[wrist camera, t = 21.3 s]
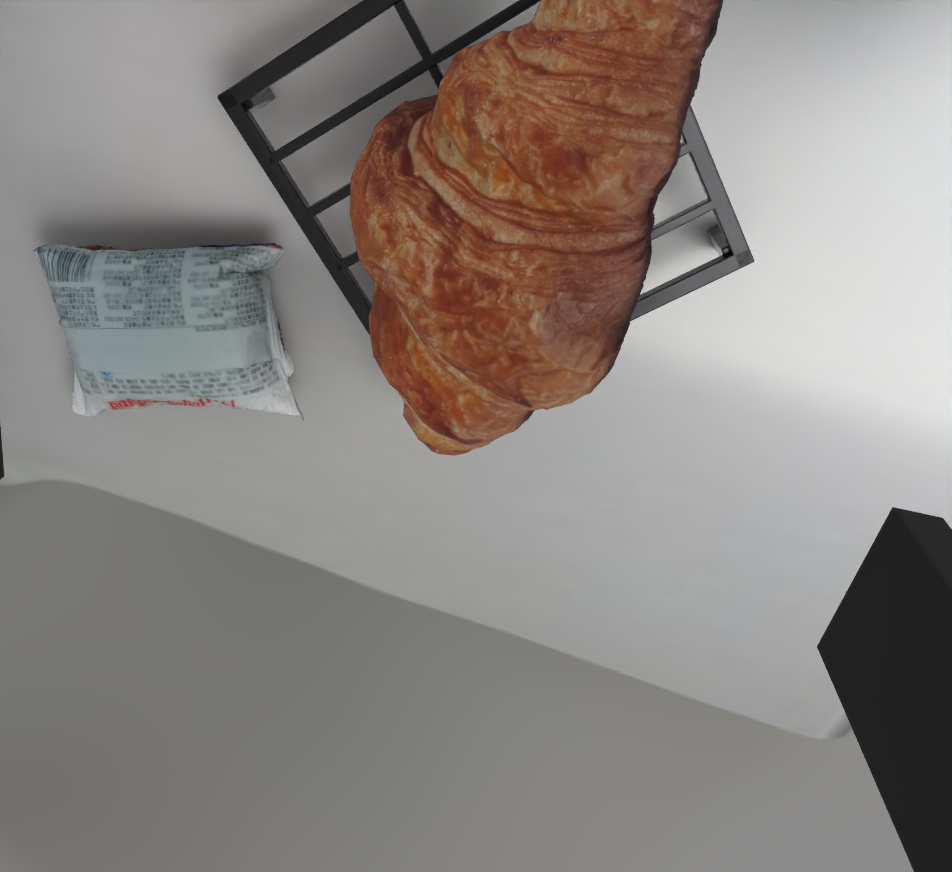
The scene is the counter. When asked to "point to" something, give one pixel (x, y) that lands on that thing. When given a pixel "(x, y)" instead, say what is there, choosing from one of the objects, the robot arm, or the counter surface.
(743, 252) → the rack
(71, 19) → the counter surface
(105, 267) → the packaged food
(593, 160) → the pastry
